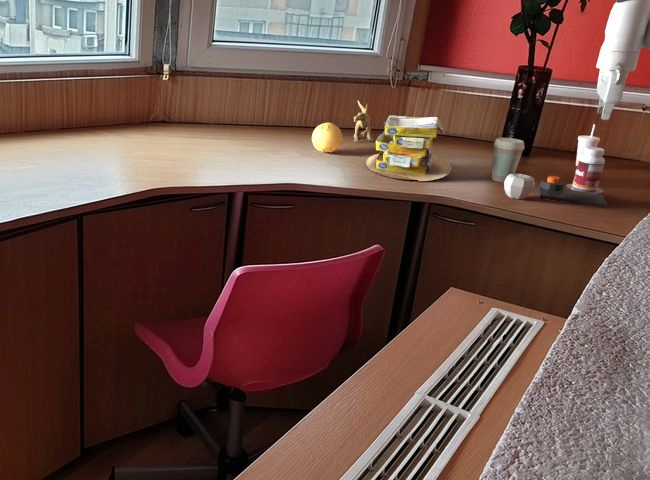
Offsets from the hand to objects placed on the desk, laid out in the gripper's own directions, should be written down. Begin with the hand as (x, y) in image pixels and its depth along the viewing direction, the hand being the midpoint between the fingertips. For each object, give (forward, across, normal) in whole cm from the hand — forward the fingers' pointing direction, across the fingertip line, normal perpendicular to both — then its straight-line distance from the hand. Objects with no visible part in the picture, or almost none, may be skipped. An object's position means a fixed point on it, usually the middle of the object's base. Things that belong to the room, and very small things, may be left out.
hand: (602, 116), depth 188 cm
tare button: (+21, +6, +7) cm, 22 cm away
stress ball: (+23, +18, +75) cm, 81 cm away
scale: (+23, +2, +2) cm, 23 cm away
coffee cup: (+23, +12, +20) cm, 33 cm away
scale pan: (+20, 0, 0) cm, 20 cm away
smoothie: (+23, +46, -4) cm, 52 cm away
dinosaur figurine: (+23, +46, +68) cm, 86 cm away
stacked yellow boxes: (+23, +8, +47) cm, 53 cm away
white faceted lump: (+23, -6, +16) cm, 29 cm away
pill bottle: (+20, 0, 0) cm, 20 cm away
